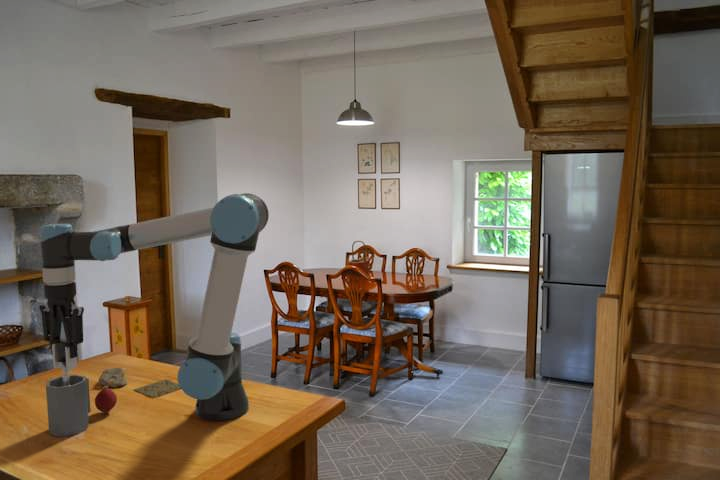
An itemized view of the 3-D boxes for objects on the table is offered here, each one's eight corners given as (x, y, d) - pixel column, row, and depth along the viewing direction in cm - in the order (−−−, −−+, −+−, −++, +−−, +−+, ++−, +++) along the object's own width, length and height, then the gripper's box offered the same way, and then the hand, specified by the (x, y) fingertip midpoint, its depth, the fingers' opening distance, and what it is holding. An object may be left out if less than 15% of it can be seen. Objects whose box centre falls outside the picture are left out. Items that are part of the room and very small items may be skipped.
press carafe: (101, 421, 160) (98, 375, 158) (68, 439, 149) (64, 389, 148) (76, 416, 163) (73, 371, 162) (41, 433, 153) (38, 384, 151)
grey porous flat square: (165, 380, 193) (165, 377, 193) (186, 388, 186) (186, 385, 185) (132, 391, 184) (132, 388, 184) (153, 400, 176) (153, 397, 176)
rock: (96, 382, 191) (98, 386, 182) (99, 365, 192) (102, 367, 183) (123, 384, 195) (127, 388, 186) (126, 367, 196) (130, 370, 187)
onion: (109, 417, 162) (107, 390, 162) (91, 416, 164) (89, 389, 163) (121, 409, 168) (119, 383, 167) (104, 408, 169) (102, 382, 168)
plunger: (87, 406, 157) (83, 339, 155) (67, 415, 151) (62, 346, 148) (69, 402, 159) (64, 337, 157) (48, 411, 153) (43, 343, 151)
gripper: (95, 282, 151) (100, 367, 154) (48, 278, 157) (53, 360, 160) (72, 287, 144) (77, 376, 147) (23, 282, 150) (29, 368, 153)
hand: (65, 367), depth 154 cm, fingers closed on plunger, 4 cm apart
